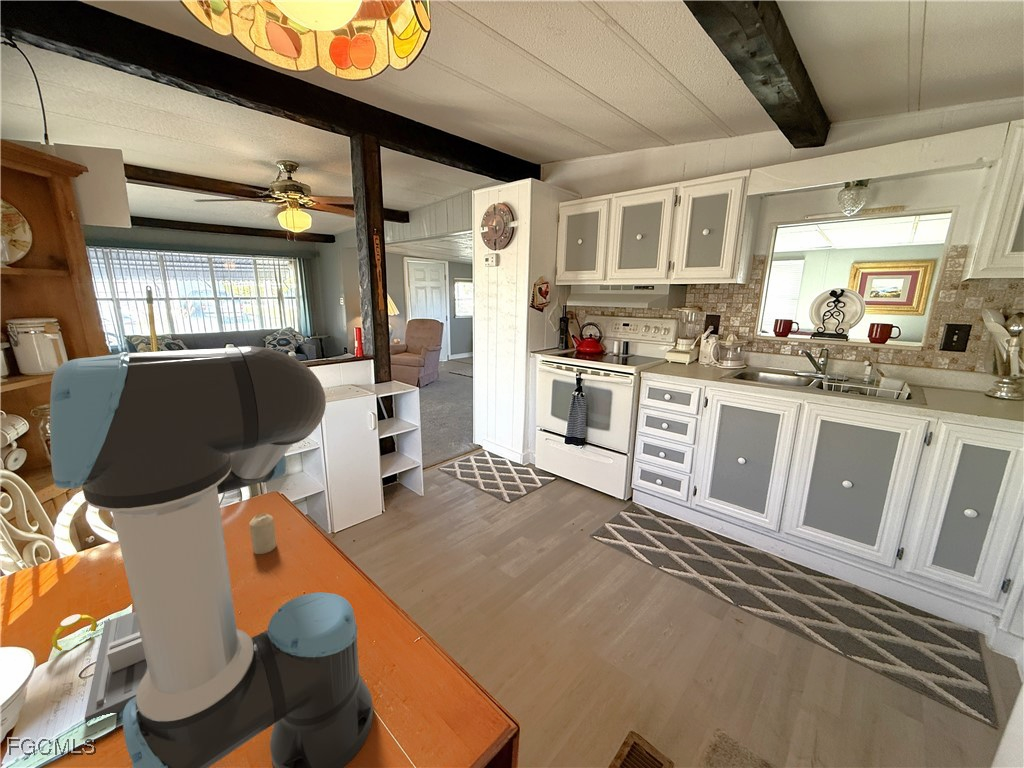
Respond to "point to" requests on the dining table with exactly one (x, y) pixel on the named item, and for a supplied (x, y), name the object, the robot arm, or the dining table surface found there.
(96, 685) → the console board
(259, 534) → the candle
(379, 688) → the dining table surface
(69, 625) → the watch
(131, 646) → the grey cap
